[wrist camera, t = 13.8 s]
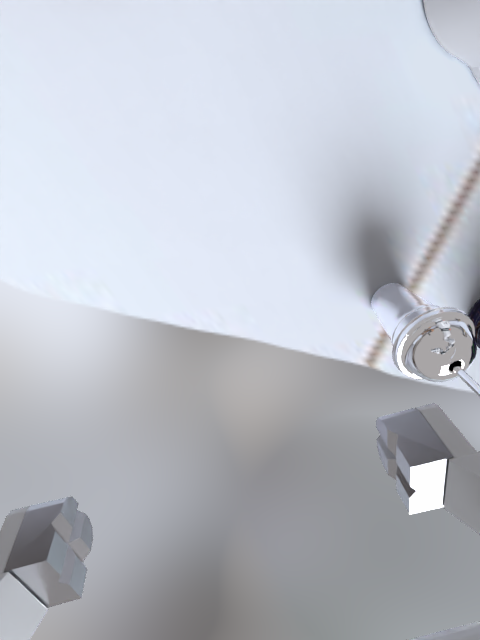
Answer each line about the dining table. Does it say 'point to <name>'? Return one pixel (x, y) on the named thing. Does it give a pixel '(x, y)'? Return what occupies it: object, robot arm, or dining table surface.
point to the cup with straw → (426, 336)
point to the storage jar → (476, 320)
